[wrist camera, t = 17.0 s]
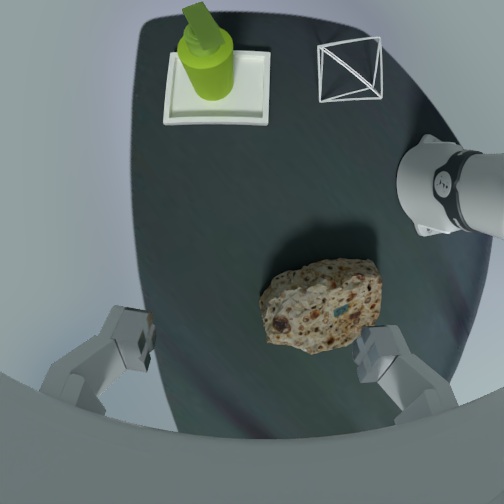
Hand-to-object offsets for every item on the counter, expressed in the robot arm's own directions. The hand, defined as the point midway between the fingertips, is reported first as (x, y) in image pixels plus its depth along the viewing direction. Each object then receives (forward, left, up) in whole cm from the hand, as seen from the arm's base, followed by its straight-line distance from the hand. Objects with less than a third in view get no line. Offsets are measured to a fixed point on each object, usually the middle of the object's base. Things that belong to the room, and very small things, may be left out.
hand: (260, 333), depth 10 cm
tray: (+4, -20, -32) cm, 38 cm away
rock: (-13, +14, -32) cm, 38 cm away
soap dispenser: (+5, -20, -32) cm, 37 cm away
